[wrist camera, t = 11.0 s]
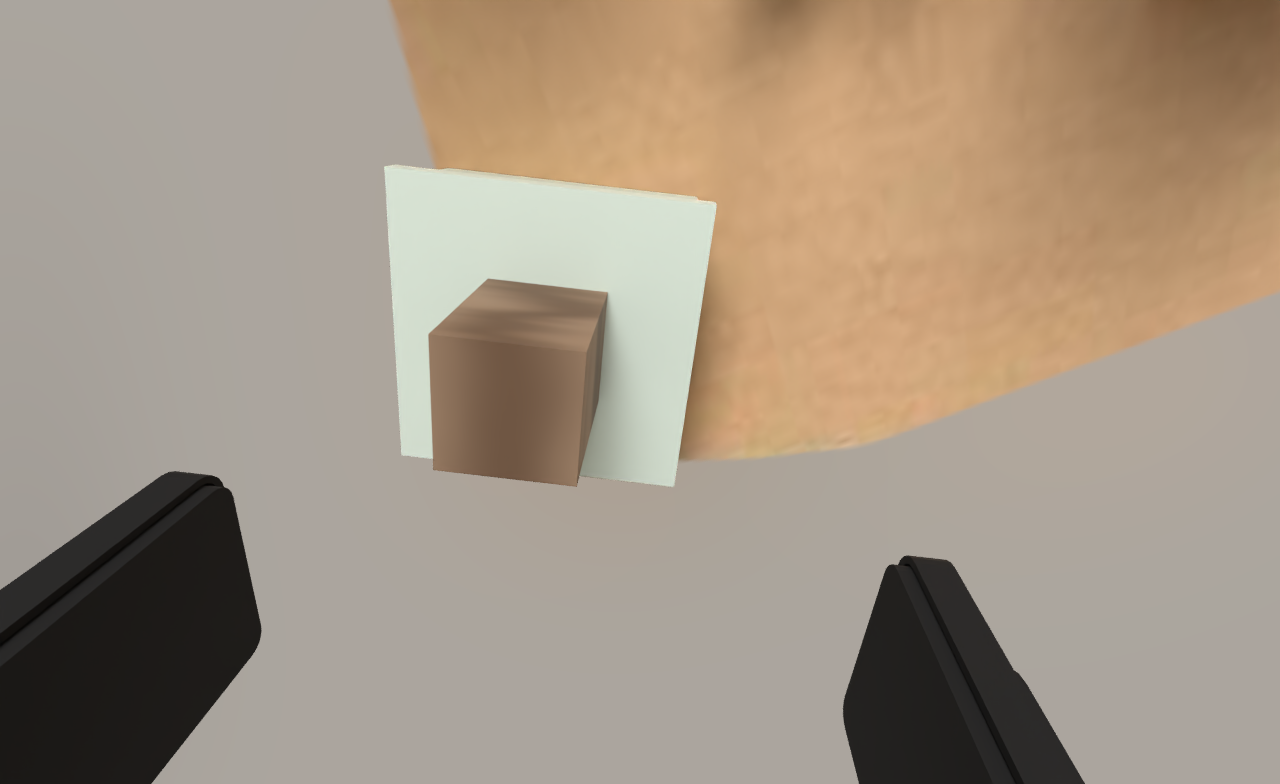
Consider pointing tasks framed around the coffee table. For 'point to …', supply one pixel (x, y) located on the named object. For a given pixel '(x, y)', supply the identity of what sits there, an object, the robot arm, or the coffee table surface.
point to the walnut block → (517, 381)
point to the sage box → (565, 257)
